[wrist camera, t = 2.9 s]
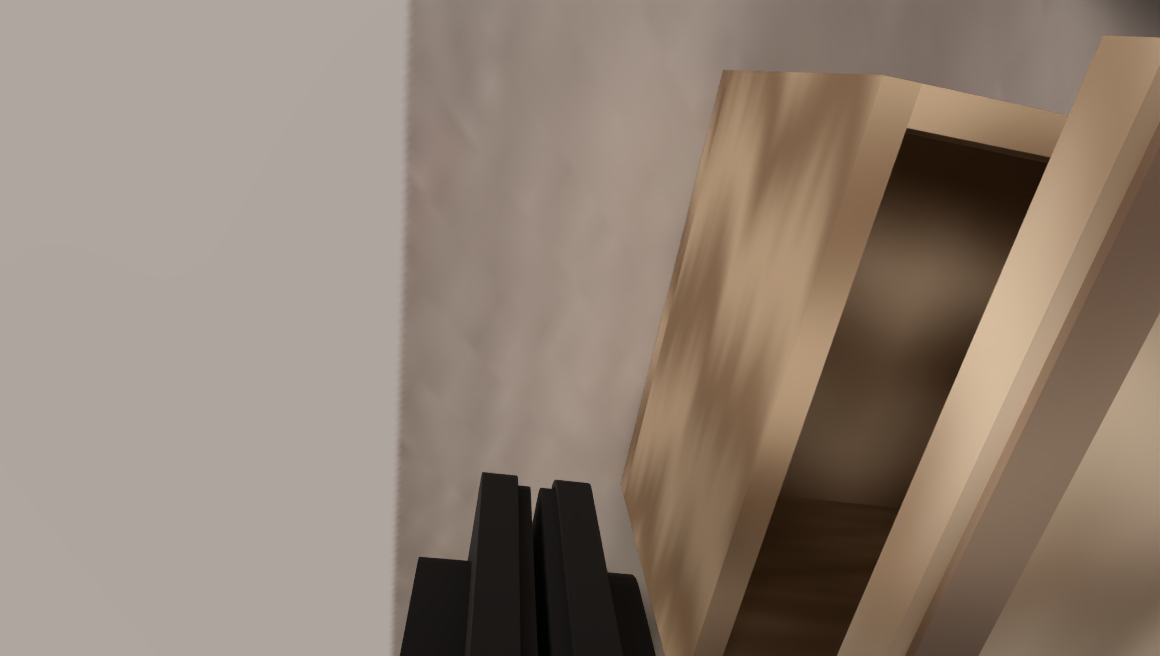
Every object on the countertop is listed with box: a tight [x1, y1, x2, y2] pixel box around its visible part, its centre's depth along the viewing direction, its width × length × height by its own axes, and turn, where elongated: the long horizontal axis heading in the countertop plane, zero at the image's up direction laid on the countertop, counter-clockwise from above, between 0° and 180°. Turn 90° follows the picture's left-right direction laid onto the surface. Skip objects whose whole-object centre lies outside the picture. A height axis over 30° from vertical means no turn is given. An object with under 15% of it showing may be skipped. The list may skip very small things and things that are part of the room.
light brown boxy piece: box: [621, 70, 1068, 656], centre depth 21 cm, size 16×13×10 cm
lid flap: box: [837, 35, 1160, 656], centre depth 13 cm, size 17×15×1 cm
